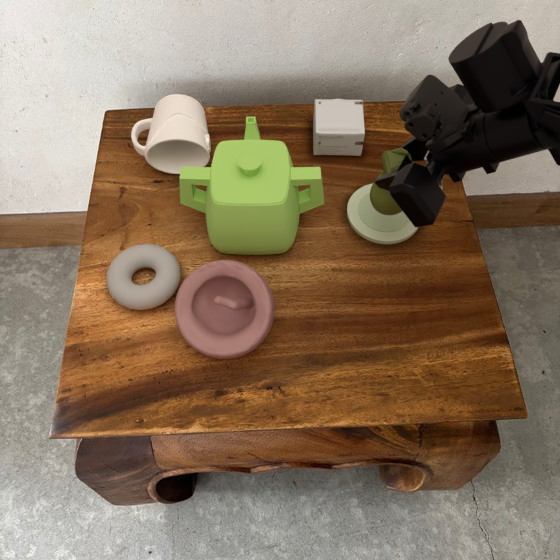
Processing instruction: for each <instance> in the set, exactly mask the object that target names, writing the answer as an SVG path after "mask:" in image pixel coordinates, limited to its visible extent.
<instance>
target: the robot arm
mask: <svg viewBox="0 0 560 560" xmlns="http://www.w3.org/2000/svg"><path fill="white" fill-rule="evenodd" d="M448 63H449V64H450V66H451V67H452V69H453V71H454V72H455V74H456V76H457V77H458V79H459V80H460V82H461V84H460V83H456V84H454V85H451V86H450V87H449V86H448V85H447V84H445V83H444V82H443V81H441V80H440V79H439V78H438V77H437V76H436V75H433V74H427V75H426V76H425V77H424V78H423V79H422V80H421V81H420V82H419V83H418V85H416V86H415V87H414V89H413V90H412V91H411V92H410V93H409V94H408V97H406V99H405V102H404V103H403V104H402V106H401V107H400V108H399V111H398V114H399V115H398V116H399V117H400V119H401V121H403V122H404V123H403V124H404V125H403V126H404V129H405V131H406V132H408V133H409V134H410V135H412V137H411V138H410V139H409V140H407V141H406V142H404V143H403V144H402V145H401V146H399V147H398V148H403V149H405V150H407V151H408V153H409V154H410V155H411V159H412V161H413V163H412V161H411V160H410V158H409V157H408V156H407V154H406V155H405V157H404V159H403V160H402V162H401V164H400V166H399V167H398V169H396V170H394V171H392V172H390V173H388V174H386V175H384V176H382V177H380V178H378V179H376V178H375V180H374V181H375V184H376V185H377V186H378V188H381V189H384V190H388V191H390V195H391V196H392V198H393V199H394V200H395V202H396V203H397V204H398V206H399V207H400V208H401V210H402V211H403V212H404V213H405V215H406V216H407V217H408V219H409V220H410V221H411V223H412V224H413V225H414V227H419V228H423V227H428V226H432V225H434V224H435V222H436V221H437V218H438V216H439V214H440V212H441V210H442V207H443V205H444V204H445V202H446V198H447V194H446V193H445V192H444V187H443V180H444V179H445V176H448V177H449V178H450V179H451V181H452V182H453V183H454V184H455V183H459V182H462V181H463V179H464V177H465V175H466V173H467V172H470V171H474V170H478V169H483V170H484V172H485V173H486V175H489V174H493V173H496V172H497V169H498V168H499V165H500V163H503V162H506V161H511V160H513V159H518V158H521V157H525V156H529V155H532V154H535V153H541V152H543V151H547V150H548V152H549V154H550V155H551V157H552V159H553V161H554V162H555V165H557V166H559V167H560V101H557V100H556V101H555V97H556V95H557V92H558V90H559V88H560V52H553V51H549V52H547V53H546V55H545V56H544V58H543V61H542V62H541V60H540V58H539V56H538V55H537V52H536V51H535V49H534V47H533V45H532V43H531V41H530V39H529V35H528V31H527V28H526V26H525V25H524V23H523V21H522V20H521V19H516V20H515V21H513V22H511V23H508V22H506V21H497V22H489V23H487V24H485V25H483V26H481V27H478V29H476V30H475V31H473V32H471V33H470V34H469V35H467V36H466V37H465V38H464V39H462V40H461V41H460V42H459V43H458V44H457V45H456V46H455V47H454V48H453V49H452V51H451V52H450V53H449V56H448ZM422 161H423V162H425V164H426V165H422V164H419V163H416V162H422Z"/></svg>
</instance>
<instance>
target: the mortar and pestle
mask: <svg viewBox="0 0 560 560" xmlns="http://www.w3.org/2000/svg"><path fill="white" fill-rule="evenodd" d="M178 288H179V289H178V291H177V293H176V297H175V301H174V318H175V323H176V326H177V328H178V330H179V333H180V335H181V336H182V338H183V339H184V341H186V343H187V344H188V345H189V346H190V347H191V348H193V350H195V351H197V352H199V353H200V354H202V355H204V356H206V357H209V358H213V359H218V360H231V359H236V358H240V357H243V356H245V355H248V354H249V353H251V352H252V351H254V350H255V349H256V348H258V347H259V346H260V345H262V343H263V342H264V341H265V340H266V338H267V336H268V335H269V333H270V331H271V329H272V326H273V323H274V319H275V312H276V307H275V306H276V305H275V297H274V294H273V291H272V289H271V287H270V286H269V283H268V281H267V280H266V279H265V277H263V275H262V274H261V273H260V272H259V271H257V270H256V269H255V268H253V267H252V266H250V265H249V264H247V263H244V262H242V261H238V260H234V259H217V260H216V259H215V260H212V261H209V262H206V263H203V264H201V265H199V266H198V267H197V268H195V269H194V270H192V271H191V272H190V273H189V274H188V275H187V276H186V278H185V279H184V280H183V281H182V282H181V285H180V286H179V287H178Z"/></svg>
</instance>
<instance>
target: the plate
mask: <svg viewBox="0 0 560 560" xmlns="http://www.w3.org/2000/svg"><path fill="white" fill-rule="evenodd" d="M373 183H374V182H372V183H368V184H364V185H363V186H361V187H359V188H358V189H357V190H356V191H354V192H353V193H352V194H351V196H350V198H349V199H348V201H347V205H346V218H347V222H348V223H349V225H350V227H351V229H352V230H353V231H354V232H355V233H356V234H357V235H359V236H360V237H361V238H362V239H365V240H367V241H368V242H372V243H375V244H378V245H394V244H395V245H396V244H399V243H402V242H405V241H407V240H409V239H410V238H412V237H413V236H414V235H415V234H416V232H417V231H418V229H419V228H420V227H414V225H413V224H412V223H411V221H410V220H409V219H408V217H407V216H406V215H405V213H404V212H403V211H402V212H401V213H399V214H396V215H383V214H381V213H379V212H377V211H376V210H375V209H374V208H373V206H372V204H371V201H370V190H371V187H372V185H373Z"/></svg>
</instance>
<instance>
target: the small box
mask: <svg viewBox="0 0 560 560" xmlns="http://www.w3.org/2000/svg"><path fill="white" fill-rule="evenodd" d="M313 101H314V102H313V103H314V104H313V106H314V107H313V115H312V116H313V117H312V136H313V137H312V144H313V145H312V150H313V152H312V153H313V156H354V157H361V156H362V153H363V148H364V143H365V136H366V129H365V128H366V127H365V114H364V113H365V112H364V100H363V99H344V98H333V99H332V98H331V99H329V98H327V99H326V98H325V99H323V98H315V99H314V100H313Z"/></svg>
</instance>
